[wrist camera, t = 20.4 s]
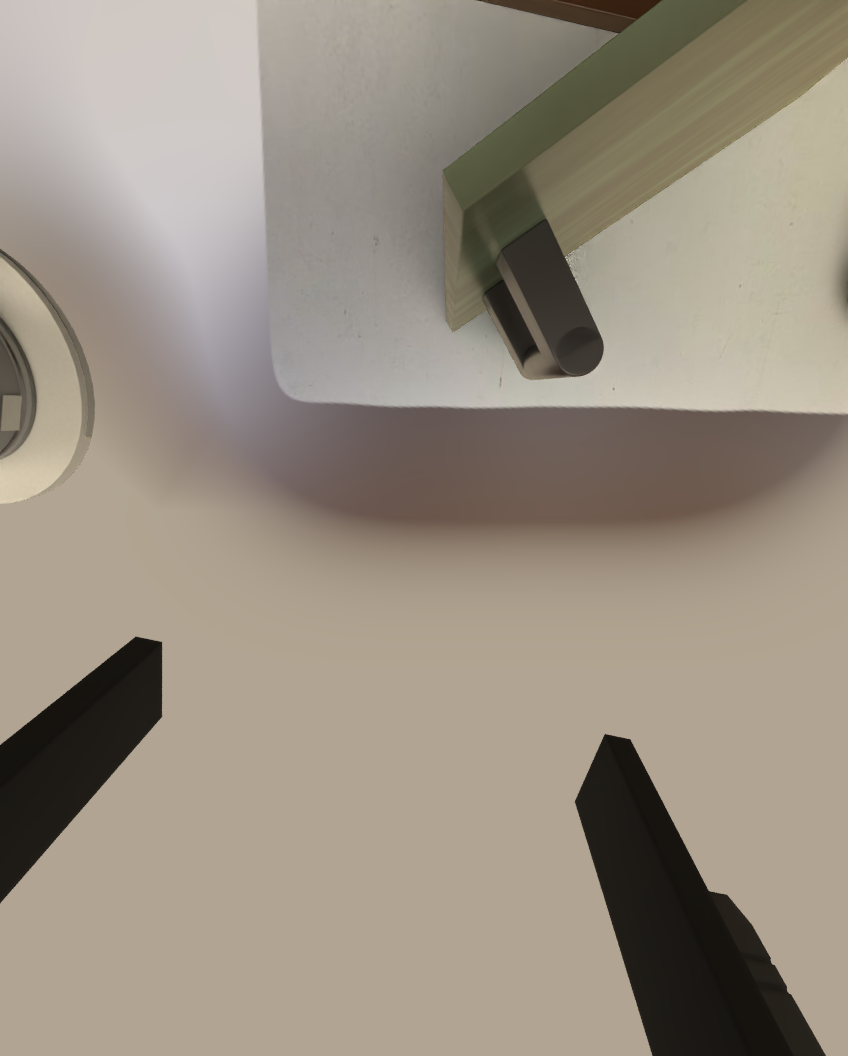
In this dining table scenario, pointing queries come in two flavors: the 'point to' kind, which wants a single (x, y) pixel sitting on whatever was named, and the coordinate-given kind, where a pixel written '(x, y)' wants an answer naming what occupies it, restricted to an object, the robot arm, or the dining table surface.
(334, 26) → the dining table surface
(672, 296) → the dining table surface
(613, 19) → the cupboard
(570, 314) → the cupboard door
